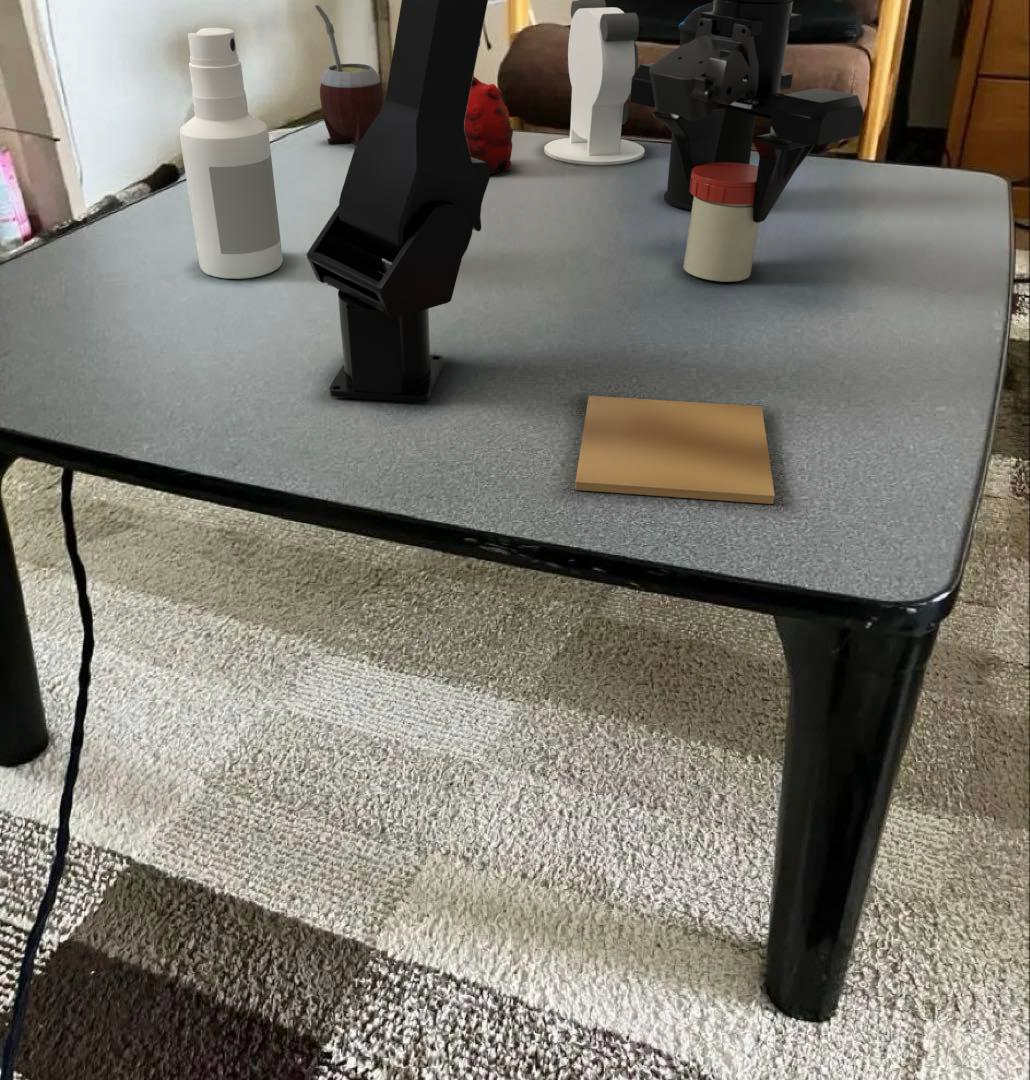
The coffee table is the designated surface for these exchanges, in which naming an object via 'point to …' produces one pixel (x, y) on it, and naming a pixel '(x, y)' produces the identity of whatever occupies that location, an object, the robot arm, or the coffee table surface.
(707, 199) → the jar lid
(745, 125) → the aerosol can
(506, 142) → the red clay folk toy
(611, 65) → the white stand
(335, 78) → the mate gourd
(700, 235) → the jar
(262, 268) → the spray bottle
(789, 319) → the coffee table surface
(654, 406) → the coaster
